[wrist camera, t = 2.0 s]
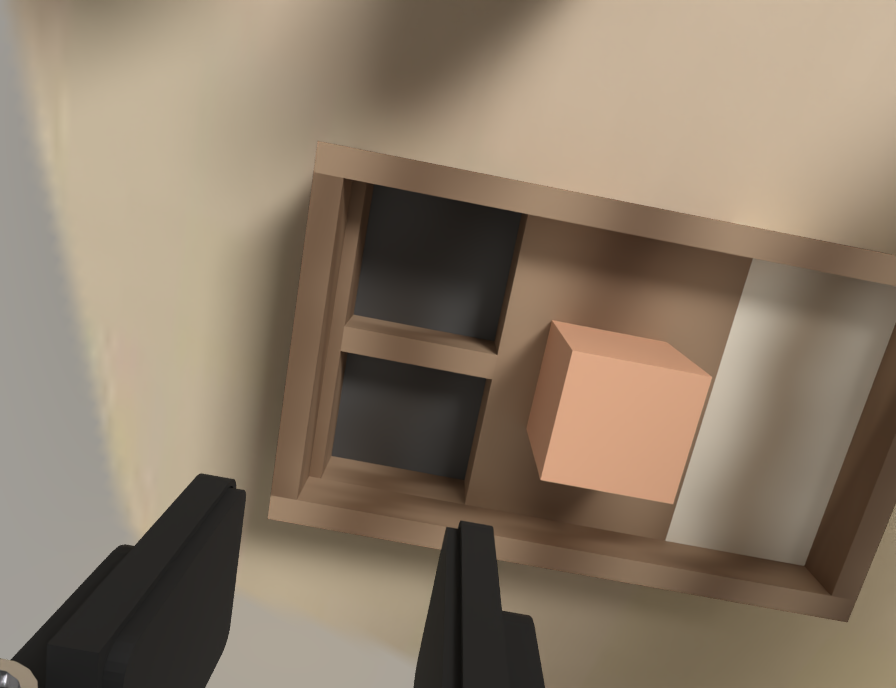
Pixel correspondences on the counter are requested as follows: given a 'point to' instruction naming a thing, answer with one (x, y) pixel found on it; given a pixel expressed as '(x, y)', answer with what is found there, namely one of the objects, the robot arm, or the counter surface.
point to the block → (614, 412)
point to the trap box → (519, 362)
